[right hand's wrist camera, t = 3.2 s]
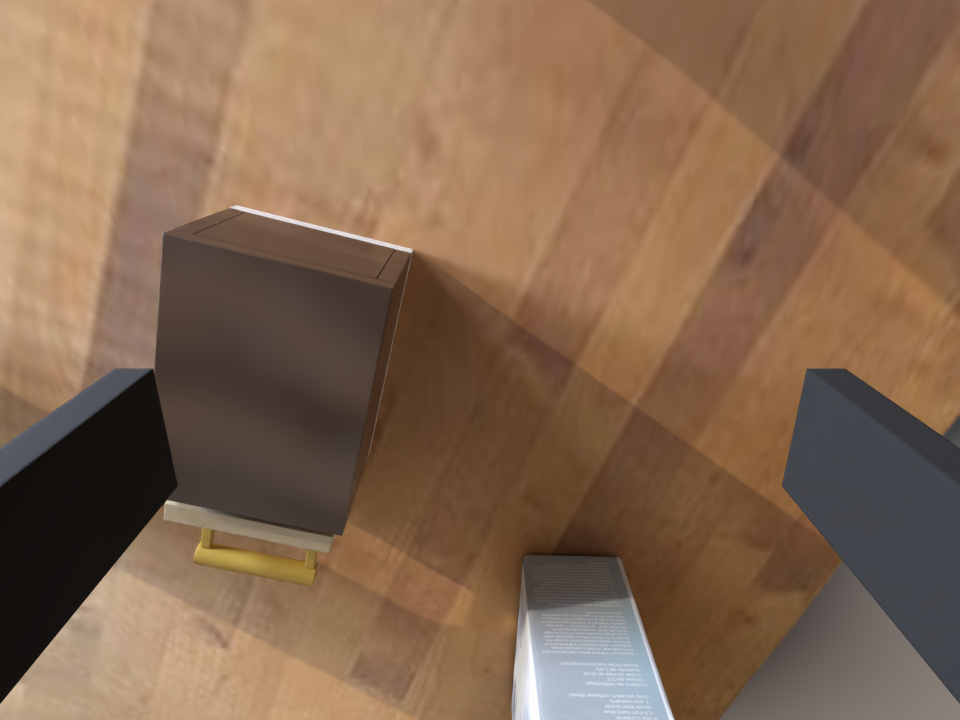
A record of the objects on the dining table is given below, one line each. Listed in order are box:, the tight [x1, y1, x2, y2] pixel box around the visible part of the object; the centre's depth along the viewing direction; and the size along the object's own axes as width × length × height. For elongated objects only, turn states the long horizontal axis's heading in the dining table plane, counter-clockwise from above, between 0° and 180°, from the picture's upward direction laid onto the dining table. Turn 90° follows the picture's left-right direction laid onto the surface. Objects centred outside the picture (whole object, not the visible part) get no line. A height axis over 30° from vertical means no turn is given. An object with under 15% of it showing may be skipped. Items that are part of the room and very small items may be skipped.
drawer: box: [164, 500, 336, 587], centre depth 37 cm, size 19×10×7 cm, turn 166°
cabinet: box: [154, 205, 413, 536], centre depth 35 cm, size 15×11×9 cm
